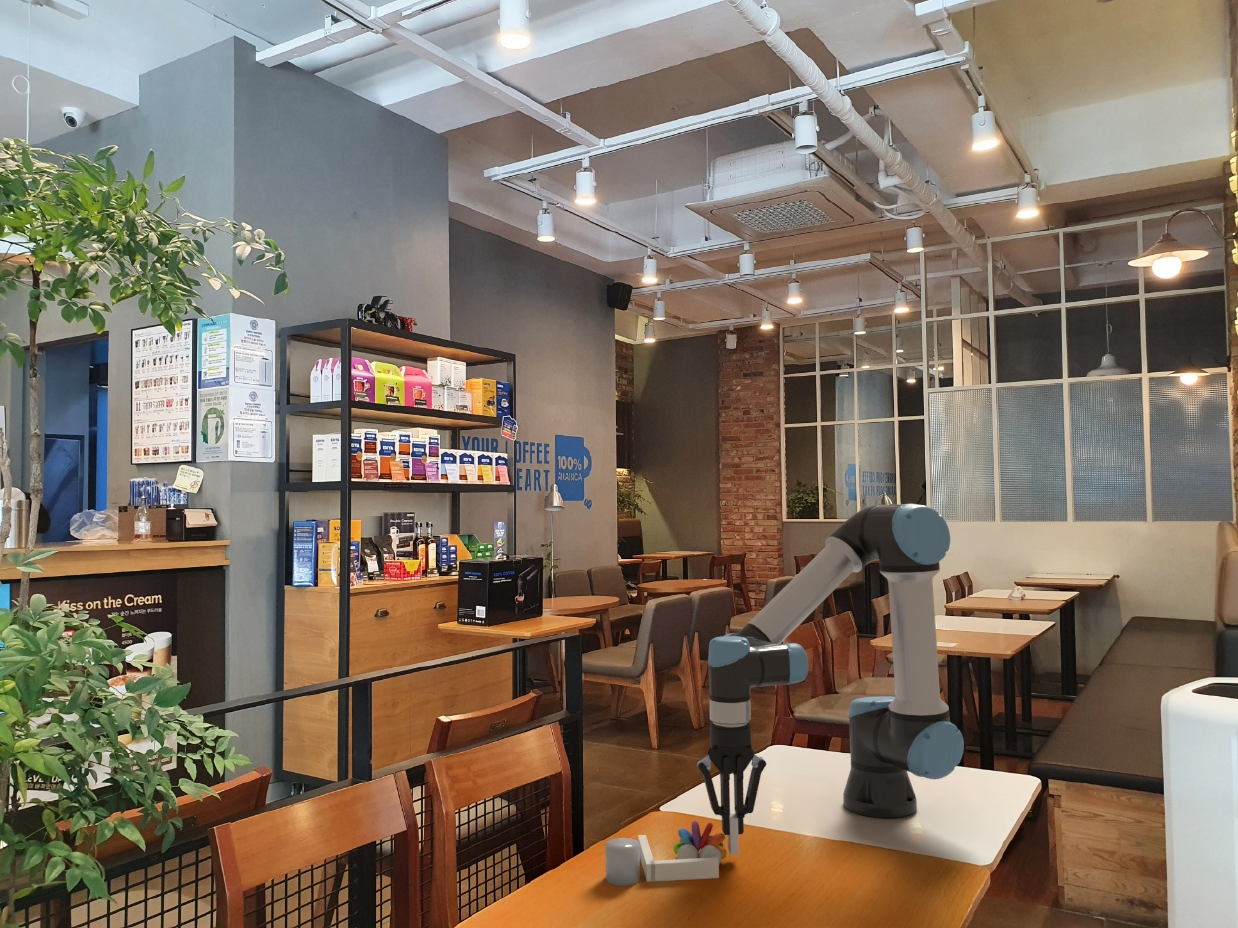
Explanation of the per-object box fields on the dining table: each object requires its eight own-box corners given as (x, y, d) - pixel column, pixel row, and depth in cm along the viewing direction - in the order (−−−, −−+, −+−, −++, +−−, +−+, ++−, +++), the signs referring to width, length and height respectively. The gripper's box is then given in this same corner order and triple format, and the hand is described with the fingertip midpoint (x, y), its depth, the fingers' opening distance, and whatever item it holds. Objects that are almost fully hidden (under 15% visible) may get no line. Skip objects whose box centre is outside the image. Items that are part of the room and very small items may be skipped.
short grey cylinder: (638, 870, 164) (637, 836, 165) (641, 884, 158) (641, 849, 159) (604, 872, 164) (604, 838, 164) (607, 886, 158) (606, 851, 158)
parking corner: (704, 847, 175) (704, 831, 175) (718, 877, 161) (718, 860, 161) (638, 851, 174) (637, 835, 174) (646, 881, 160) (646, 864, 160)
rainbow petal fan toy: (725, 872, 163) (724, 831, 163) (671, 869, 165) (670, 828, 165) (728, 854, 171) (727, 814, 172) (676, 851, 173) (675, 812, 173)
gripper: (759, 715, 173) (763, 842, 172) (692, 718, 172) (694, 845, 171) (769, 725, 166) (773, 857, 165) (699, 728, 165) (702, 861, 164)
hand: (733, 851), depth 168 cm, fingers closed
